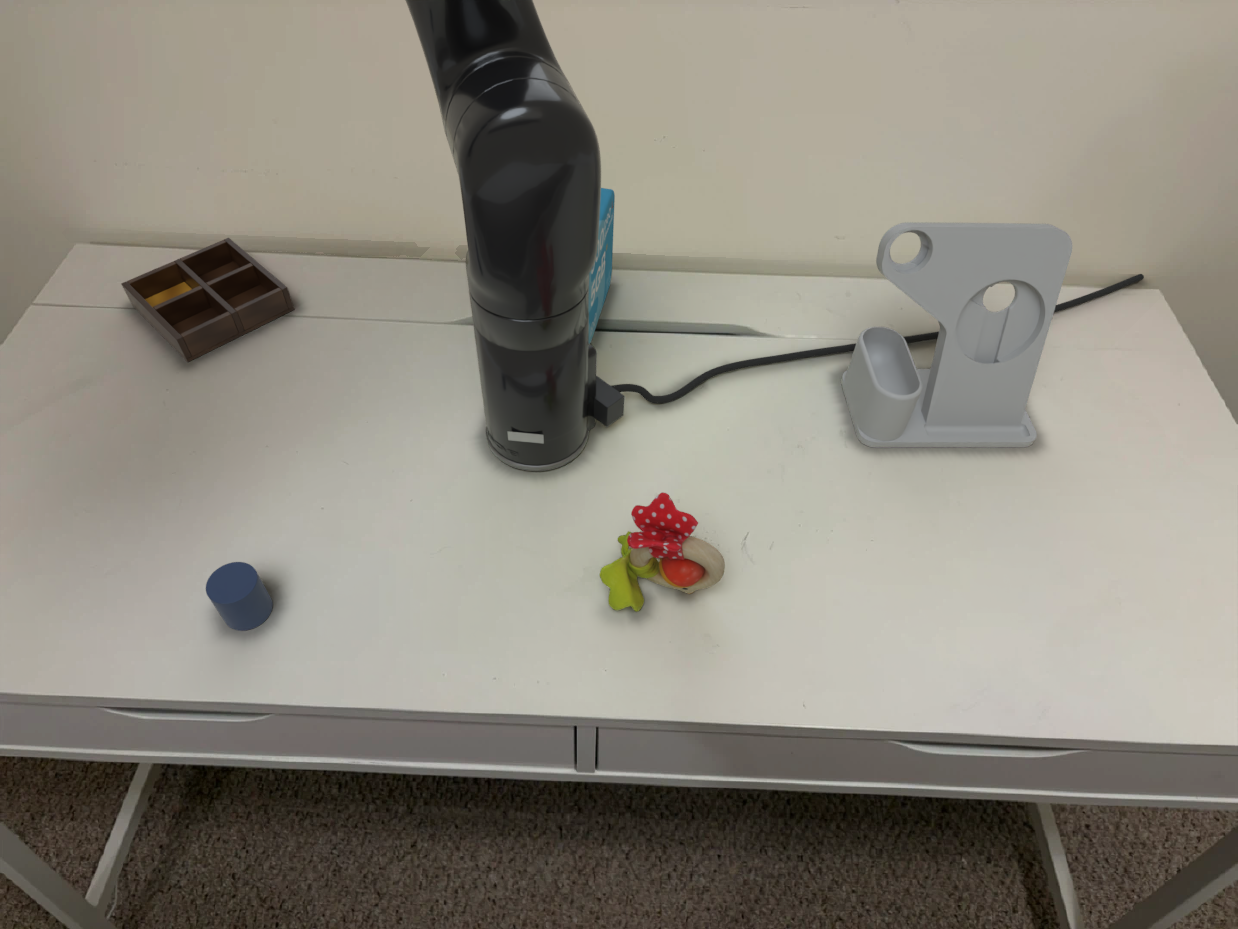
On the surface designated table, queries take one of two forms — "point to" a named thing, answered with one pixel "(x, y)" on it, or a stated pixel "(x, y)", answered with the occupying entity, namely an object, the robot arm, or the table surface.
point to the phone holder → (960, 338)
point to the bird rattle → (661, 555)
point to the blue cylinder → (239, 595)
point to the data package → (601, 260)
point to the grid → (208, 298)
